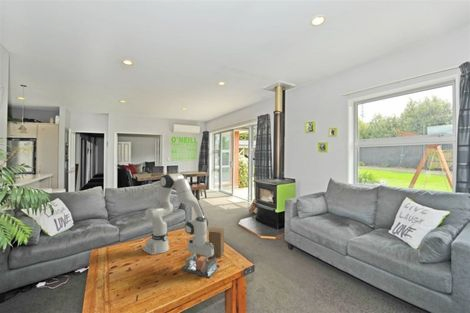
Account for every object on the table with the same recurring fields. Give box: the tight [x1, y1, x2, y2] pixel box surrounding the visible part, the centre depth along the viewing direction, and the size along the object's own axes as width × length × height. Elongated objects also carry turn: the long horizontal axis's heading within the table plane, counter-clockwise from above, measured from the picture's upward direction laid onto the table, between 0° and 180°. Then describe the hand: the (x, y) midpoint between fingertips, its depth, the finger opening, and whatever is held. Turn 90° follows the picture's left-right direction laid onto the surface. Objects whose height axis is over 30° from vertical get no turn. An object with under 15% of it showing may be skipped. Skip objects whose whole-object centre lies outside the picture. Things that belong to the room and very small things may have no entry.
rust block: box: [196, 255, 207, 270], centre depth 146 cm, size 4×7×6 cm, turn 157°
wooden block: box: [208, 226, 225, 258], centre depth 167 cm, size 10×10×20 cm
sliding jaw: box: [185, 253, 198, 268], centre depth 149 cm, size 2×11×6 cm, turn 157°
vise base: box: [182, 257, 220, 279], centre depth 146 cm, size 22×14×8 cm, turn 67°
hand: (200, 259), depth 146 cm, fingers open, 8 cm apart
